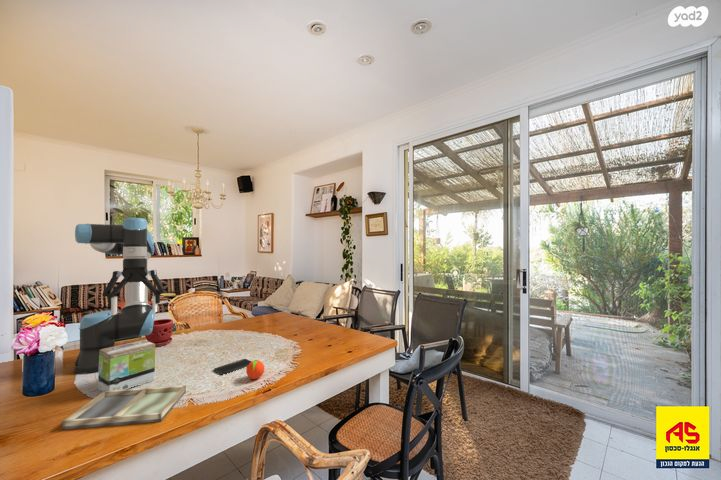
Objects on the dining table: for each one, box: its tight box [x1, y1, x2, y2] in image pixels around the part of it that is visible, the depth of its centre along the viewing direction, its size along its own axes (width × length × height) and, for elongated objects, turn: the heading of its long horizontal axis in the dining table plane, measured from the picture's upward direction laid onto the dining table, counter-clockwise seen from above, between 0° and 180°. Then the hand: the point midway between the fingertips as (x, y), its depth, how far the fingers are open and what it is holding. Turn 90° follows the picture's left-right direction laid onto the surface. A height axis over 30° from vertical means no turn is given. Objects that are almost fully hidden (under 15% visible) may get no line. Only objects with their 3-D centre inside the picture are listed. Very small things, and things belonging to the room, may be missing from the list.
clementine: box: [245, 359, 265, 380], centre depth 124 cm, size 8×7×7 cm
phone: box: [213, 358, 253, 376], centre depth 135 cm, size 8×1×15 cm
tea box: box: [97, 339, 156, 393], centre depth 118 cm, size 15×10×15 cm, turn 148°
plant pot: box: [145, 318, 174, 348], centre depth 165 cm, size 13×13×12 cm
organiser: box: [61, 385, 187, 431], centre depth 101 cm, size 26×19×2 cm
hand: (134, 313), depth 119 cm, fingers open, 13 cm apart
